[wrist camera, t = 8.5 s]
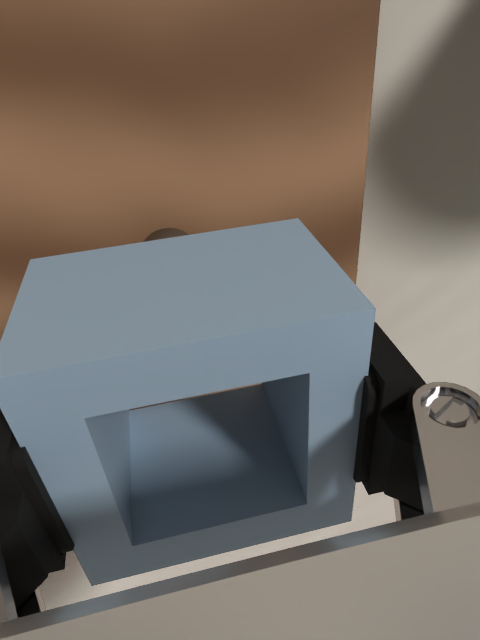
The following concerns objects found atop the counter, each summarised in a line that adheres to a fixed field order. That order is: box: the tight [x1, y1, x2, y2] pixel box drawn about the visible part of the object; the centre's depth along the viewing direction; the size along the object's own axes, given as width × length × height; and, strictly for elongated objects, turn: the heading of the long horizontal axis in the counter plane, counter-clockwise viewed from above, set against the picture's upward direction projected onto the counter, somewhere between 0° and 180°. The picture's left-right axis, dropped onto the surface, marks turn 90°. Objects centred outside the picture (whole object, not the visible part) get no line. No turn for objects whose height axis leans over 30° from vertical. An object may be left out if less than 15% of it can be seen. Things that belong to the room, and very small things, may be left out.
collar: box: [0, 218, 376, 586], centre depth 10 cm, size 6×6×4 cm
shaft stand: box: [0, 0, 381, 411], centre depth 14 cm, size 20×14×7 cm
